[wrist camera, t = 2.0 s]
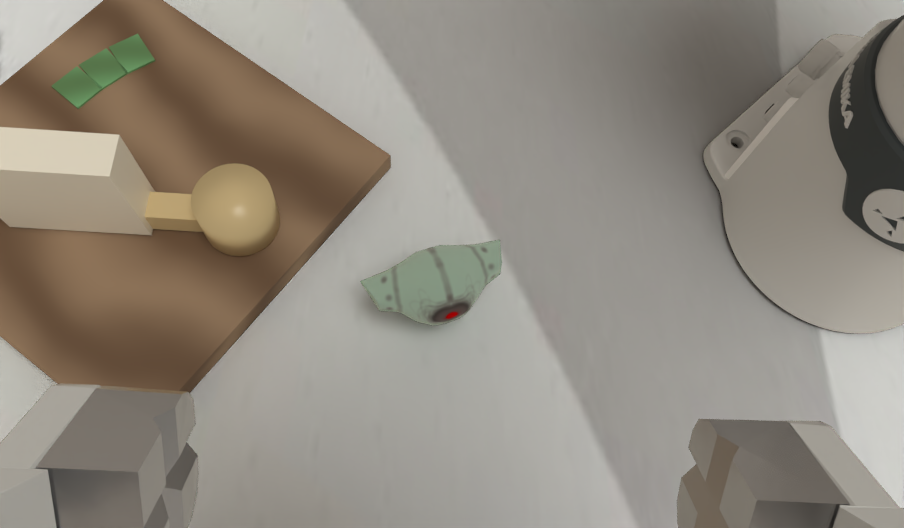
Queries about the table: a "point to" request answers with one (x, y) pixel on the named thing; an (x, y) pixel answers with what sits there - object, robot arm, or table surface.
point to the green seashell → (436, 282)
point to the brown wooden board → (170, 171)
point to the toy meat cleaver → (126, 192)
